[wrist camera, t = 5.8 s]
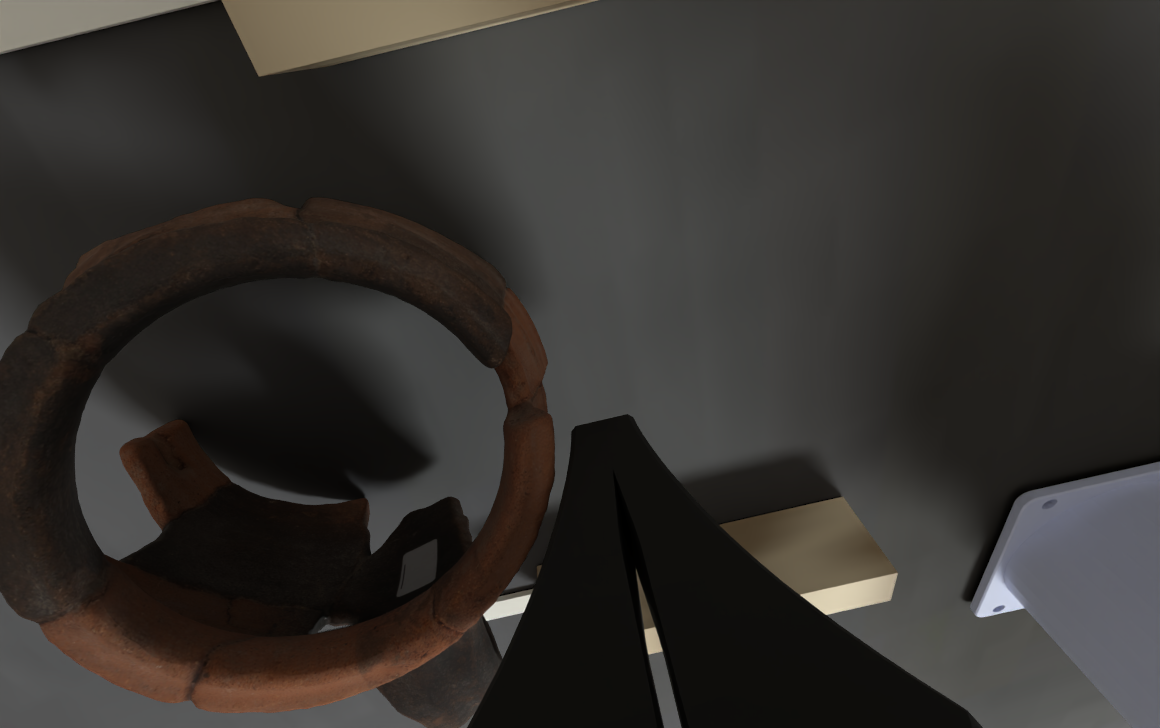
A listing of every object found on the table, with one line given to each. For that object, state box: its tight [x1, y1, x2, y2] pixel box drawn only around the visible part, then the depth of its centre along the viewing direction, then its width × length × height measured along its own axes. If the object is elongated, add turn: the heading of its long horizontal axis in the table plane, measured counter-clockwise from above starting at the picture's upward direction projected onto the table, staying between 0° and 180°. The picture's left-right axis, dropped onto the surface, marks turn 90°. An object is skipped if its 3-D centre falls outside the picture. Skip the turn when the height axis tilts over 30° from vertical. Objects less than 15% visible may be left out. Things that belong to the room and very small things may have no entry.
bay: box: [0, 0, 533, 621], centre depth 13 cm, size 9×20×1 cm, turn 11°
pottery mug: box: [0, 197, 555, 728], centre depth 11 cm, size 12×10×8 cm
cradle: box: [222, 0, 898, 654], centre depth 12 cm, size 11×18×3 cm, turn 11°
